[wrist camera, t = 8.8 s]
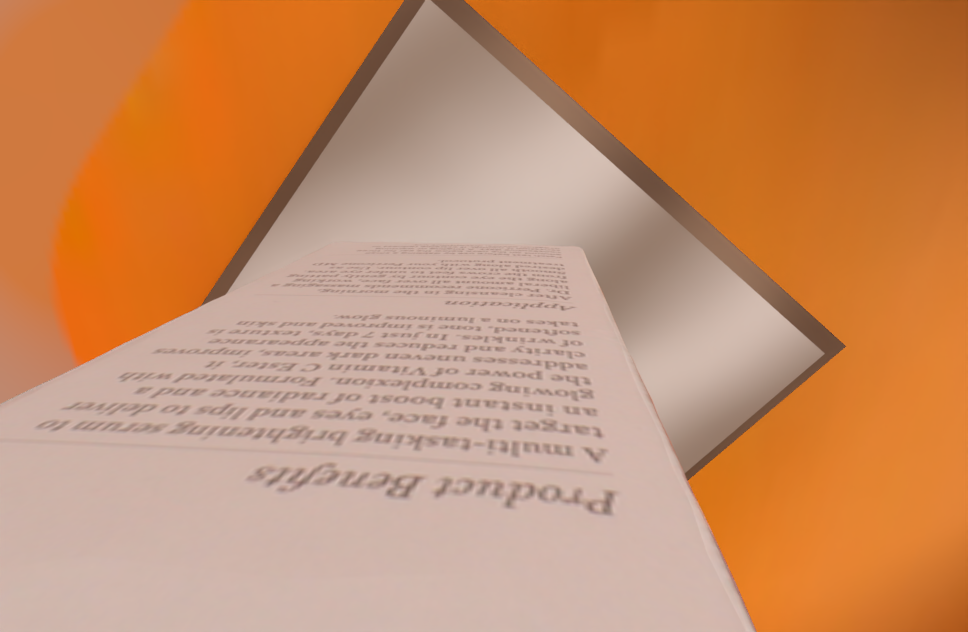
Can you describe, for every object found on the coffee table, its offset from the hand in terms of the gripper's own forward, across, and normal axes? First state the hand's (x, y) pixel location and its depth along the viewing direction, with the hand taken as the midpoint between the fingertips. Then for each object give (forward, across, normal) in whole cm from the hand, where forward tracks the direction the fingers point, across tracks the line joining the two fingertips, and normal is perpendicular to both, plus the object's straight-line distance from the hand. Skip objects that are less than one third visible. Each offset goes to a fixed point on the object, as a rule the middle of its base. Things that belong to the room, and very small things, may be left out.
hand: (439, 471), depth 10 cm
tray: (+8, 0, 0) cm, 8 cm away
